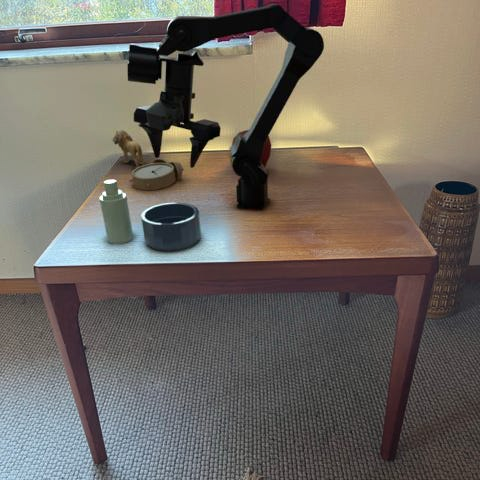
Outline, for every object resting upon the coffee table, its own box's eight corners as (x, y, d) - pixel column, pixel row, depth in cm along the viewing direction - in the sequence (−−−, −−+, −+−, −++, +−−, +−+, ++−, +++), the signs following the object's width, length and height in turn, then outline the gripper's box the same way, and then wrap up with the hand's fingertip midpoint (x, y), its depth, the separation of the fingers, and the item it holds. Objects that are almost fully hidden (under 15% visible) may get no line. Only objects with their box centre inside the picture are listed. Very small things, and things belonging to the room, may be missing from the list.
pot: (209, 231, 110) (207, 205, 106) (187, 255, 101) (184, 227, 97) (161, 226, 113) (157, 200, 110) (135, 249, 104) (130, 221, 101)
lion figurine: (113, 161, 155) (108, 130, 150) (128, 157, 158) (123, 127, 153) (140, 171, 146) (135, 138, 141) (155, 166, 149) (151, 134, 144)
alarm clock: (122, 174, 135) (161, 150, 143) (127, 191, 138) (165, 167, 146) (151, 182, 129) (190, 156, 137) (156, 199, 132) (194, 174, 140)
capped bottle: (136, 232, 111) (127, 176, 104) (129, 243, 106) (119, 186, 99) (112, 232, 111) (101, 177, 104) (104, 243, 107) (92, 186, 100)
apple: (241, 164, 148) (239, 122, 141) (276, 167, 144) (276, 124, 138) (226, 176, 139) (224, 132, 133) (263, 179, 136) (263, 134, 129)
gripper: (117, 81, 102) (117, 159, 111) (197, 99, 96) (191, 181, 105) (149, 77, 111) (147, 150, 119) (225, 94, 105) (217, 169, 114)
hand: (174, 162), depth 114 cm, fingers open, 9 cm apart
